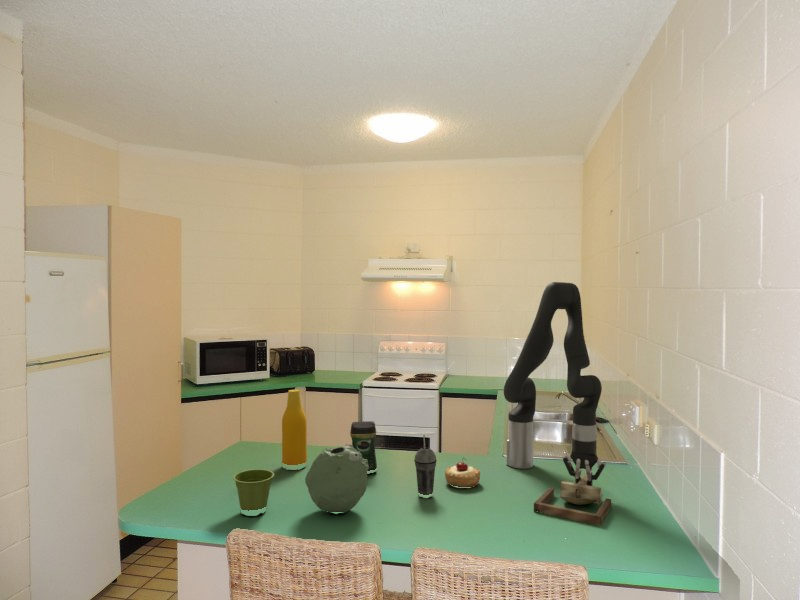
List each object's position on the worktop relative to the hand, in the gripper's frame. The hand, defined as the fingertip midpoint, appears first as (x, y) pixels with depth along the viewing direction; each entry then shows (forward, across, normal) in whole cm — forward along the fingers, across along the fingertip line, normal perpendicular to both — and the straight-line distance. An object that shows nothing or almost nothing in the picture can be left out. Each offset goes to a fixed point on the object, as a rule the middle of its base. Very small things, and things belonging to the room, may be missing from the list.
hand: (583, 490), depth 175 cm
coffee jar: (+2, -74, -18) cm, 76 cm away
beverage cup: (+2, -44, -27) cm, 51 cm away
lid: (+2, +1, -10) cm, 10 cm away
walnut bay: (+1, 0, -13) cm, 13 cm away
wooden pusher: (+1, 0, +1) cm, 1 cm away
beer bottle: (+2, -100, -27) cm, 104 cm away
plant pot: (+2, -81, -65) cm, 104 cm away
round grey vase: (+2, -60, -52) cm, 79 cm away
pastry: (+2, -38, -11) cm, 40 cm away
